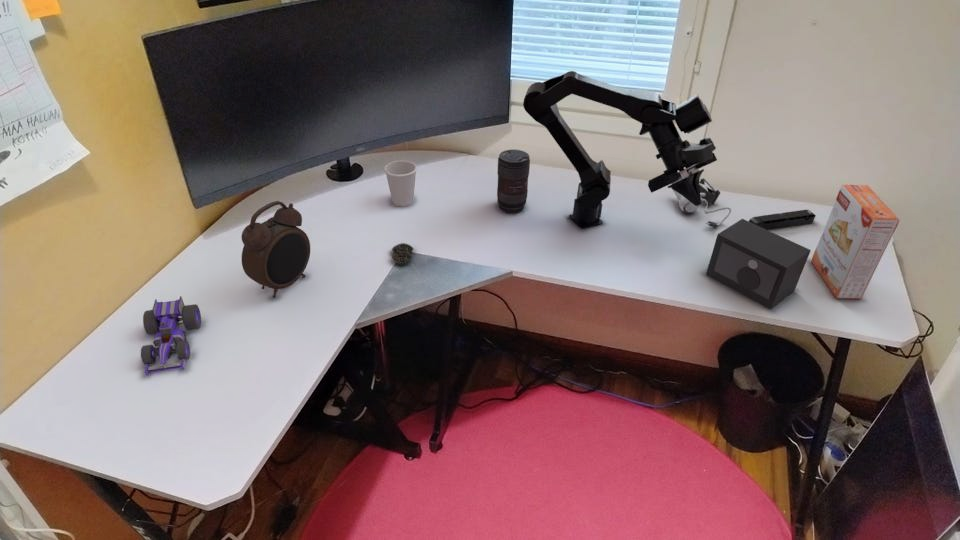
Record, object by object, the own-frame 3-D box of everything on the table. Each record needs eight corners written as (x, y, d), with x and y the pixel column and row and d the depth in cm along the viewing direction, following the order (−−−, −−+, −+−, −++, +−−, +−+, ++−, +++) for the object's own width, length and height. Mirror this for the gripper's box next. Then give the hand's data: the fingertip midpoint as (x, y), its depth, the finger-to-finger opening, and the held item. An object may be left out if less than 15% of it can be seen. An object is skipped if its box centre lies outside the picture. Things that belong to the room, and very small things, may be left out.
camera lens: (532, 204, 164) (536, 153, 155) (517, 218, 159) (520, 165, 150) (506, 196, 168) (508, 145, 159) (490, 209, 162) (492, 157, 153)
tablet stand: (752, 232, 155) (755, 222, 153) (746, 227, 157) (749, 217, 155) (813, 223, 158) (817, 213, 157) (806, 218, 160) (810, 208, 159)
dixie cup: (401, 190, 170) (399, 157, 164) (425, 199, 166) (423, 166, 160) (380, 202, 164) (377, 168, 158) (404, 212, 161) (401, 178, 155)
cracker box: (808, 261, 145) (840, 183, 133) (834, 262, 145) (869, 183, 132) (833, 299, 134) (871, 217, 121) (861, 300, 134) (902, 218, 121)
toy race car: (137, 377, 113) (125, 351, 110) (153, 324, 125) (142, 299, 121) (192, 369, 115) (183, 343, 111) (202, 317, 127) (194, 292, 123)
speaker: (704, 275, 140) (716, 234, 134) (729, 257, 146) (742, 218, 139) (769, 310, 131) (785, 269, 124) (794, 290, 136) (811, 250, 130)
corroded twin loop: (390, 266, 141) (390, 262, 141) (392, 246, 148) (392, 243, 147) (412, 266, 142) (412, 262, 141) (413, 246, 148) (413, 242, 147)
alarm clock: (272, 308, 129) (252, 228, 117) (248, 296, 132) (226, 217, 120) (320, 273, 139) (307, 196, 127) (297, 262, 142) (282, 186, 130)
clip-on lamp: (732, 234, 159) (700, 188, 171) (744, 216, 155) (710, 170, 166) (693, 236, 156) (663, 189, 167) (704, 218, 151) (672, 171, 163)
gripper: (670, 140, 129) (702, 207, 129) (720, 118, 139) (750, 180, 139) (633, 160, 139) (664, 223, 139) (683, 138, 148) (711, 196, 148)
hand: (698, 205), depth 141 cm, fingers closed
